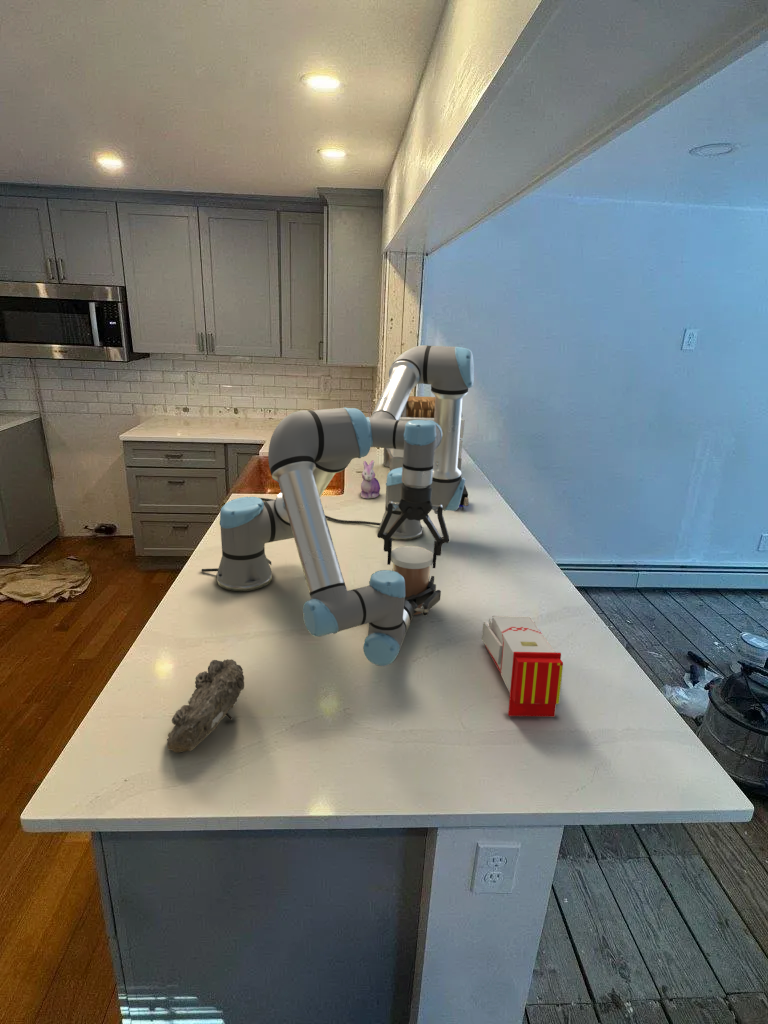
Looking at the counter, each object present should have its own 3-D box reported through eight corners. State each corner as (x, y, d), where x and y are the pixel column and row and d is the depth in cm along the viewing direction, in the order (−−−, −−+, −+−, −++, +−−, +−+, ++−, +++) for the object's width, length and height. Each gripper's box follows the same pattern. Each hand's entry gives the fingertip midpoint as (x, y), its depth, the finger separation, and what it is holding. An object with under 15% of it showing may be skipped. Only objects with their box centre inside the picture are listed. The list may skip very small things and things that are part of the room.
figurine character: (468, 514, 225) (463, 498, 239) (470, 497, 222) (465, 482, 235) (451, 514, 225) (447, 498, 238) (453, 497, 222) (449, 481, 235)
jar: (383, 601, 154) (386, 551, 149) (414, 594, 158) (417, 545, 153) (402, 618, 146) (405, 566, 141) (434, 610, 150) (438, 559, 145)
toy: (528, 601, 136) (572, 659, 107) (523, 653, 139) (565, 722, 110) (478, 600, 136) (508, 657, 107) (474, 652, 139) (503, 722, 109)
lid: (382, 555, 149) (383, 549, 149) (418, 548, 154) (418, 543, 154) (404, 572, 140) (405, 566, 140) (441, 564, 146) (442, 558, 145)
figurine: (365, 500, 232) (366, 464, 227) (354, 493, 241) (355, 458, 236) (385, 497, 237) (387, 463, 231) (374, 490, 245) (375, 457, 240)
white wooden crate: (382, 463, 289) (386, 382, 275) (445, 464, 293) (451, 384, 279) (390, 482, 257) (394, 392, 243) (460, 483, 261) (468, 394, 247)
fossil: (192, 660, 117) (244, 628, 112) (224, 691, 120) (276, 661, 115) (142, 746, 98) (202, 712, 93) (182, 779, 101) (242, 748, 96)
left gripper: (348, 624, 137) (372, 583, 157) (441, 639, 132) (453, 596, 153) (349, 596, 134) (373, 559, 155) (443, 611, 130) (455, 571, 150)
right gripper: (463, 482, 143) (456, 561, 150) (371, 476, 145) (368, 555, 152) (464, 491, 136) (457, 574, 143) (368, 485, 138) (365, 566, 145)
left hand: (413, 577), depth 154 cm, fingers closed on jar, 10 cm apart
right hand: (411, 564), depth 148 cm, fingers closed on lid, 11 cm apart
